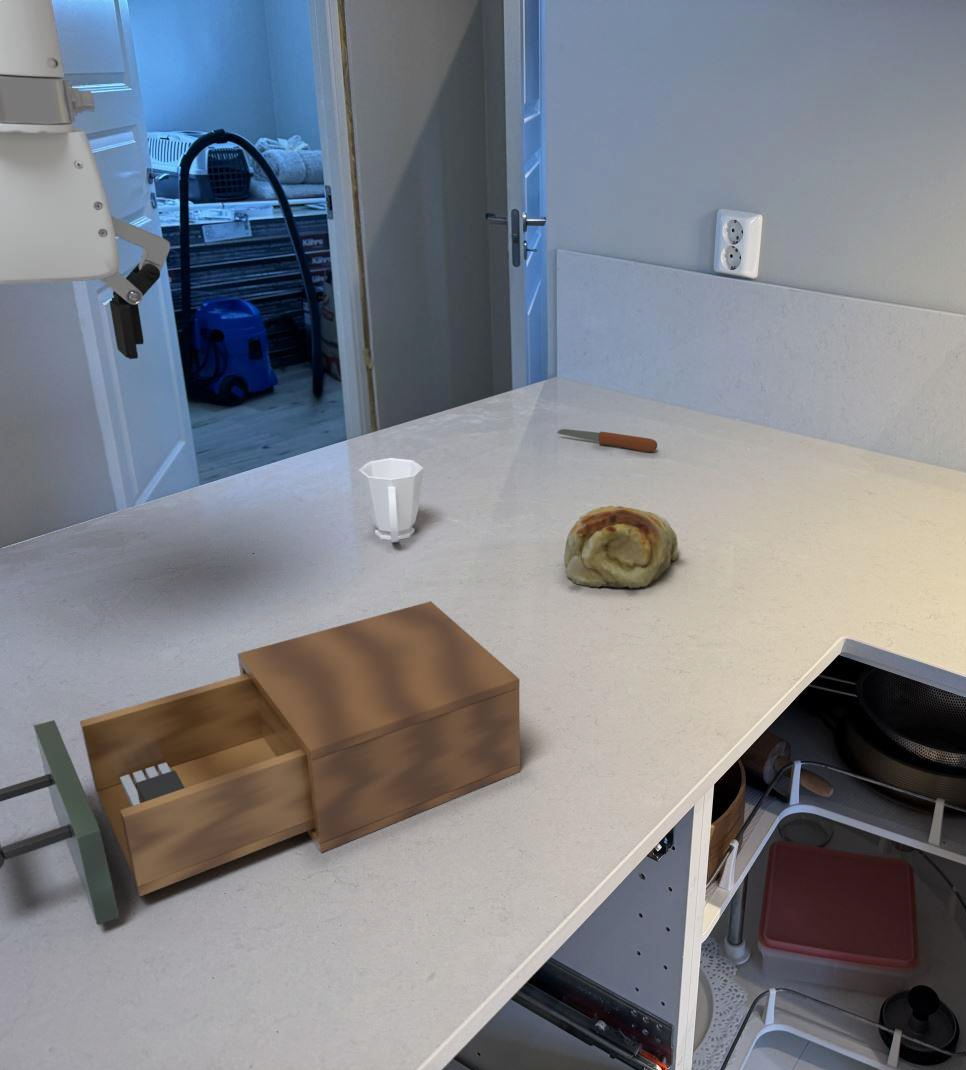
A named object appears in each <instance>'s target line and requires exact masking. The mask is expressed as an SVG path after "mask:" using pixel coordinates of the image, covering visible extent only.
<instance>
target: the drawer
mask: <svg viewBox="0 0 966 1070" xmlns="http://www.w3.org/2000/svg"><path fill="white" fill-rule="evenodd" d="M79 725H80V730H81V734H82V739H83V744H84V747H85V752H86V757H87V761H88V765H89V770H90V775H91V779H92V784H93V789H94V793H95V796H96V798H97V801H98V804H99V806H100V808H101V811H102V813H103V815H104V817H105V819H106V822H107V824H108V826H109V829H110V832H111V833H112V836H113V839H114V841H115V843H116V845H117V848H118V850H119V852H120V855H121V857H122V859H123V861H124V864H125V867H126V868H127V871H128V873H129V875H130V877H131V881H132V883H133V885H134V887H135V889H136V891H137V894H138V896H139V897H143V896H146V895H148V894H150V893H153V892H155V891H158V890H160V889H163V888H165V887H168V886H171V885H173V884H176V883H178V882H181V881H183V880H186V879H189V878H191V877H193V876H196V875H199V874H201V873H203V872H206V871H209V870H212V869H214V868H216V867H219V866H222V865H224V864H227V863H229V862H232V861H234V860H237V859H239V858H242V857H244V856H247V855H249V854H250V855H251V854H252V853H254V852H258V851H260V850H262V849H265V848H268V847H270V846H272V845H276V844H278V843H281V842H283V841H285V840H288V839H290V838H292V837H295V836H297V835H300V834H303V833H305V832H307V831H308V830H311V829H313V828H315V824H314V815H313V806H312V796H311V787H310V778H309V769H308V760H307V754H306V753H305V751H304V750H303V749H302V747H301V746H300V745H299V743H298V742H297V740H296V739H295V738H294V736H293V735H292V734H291V732H290V731H289V730H288V728H287V727H286V726H285V724H284V723H283V721H282V720H281V719H280V717H279V716H278V715H277V713H276V712H275V711H274V709H273V708H272V707H271V705H270V704H269V703H268V701H267V700H266V698H265V697H264V696H263V694H262V693H261V692H260V690H259V689H258V688H257V686H256V685H255V684H254V682H253V681H252V679H251V678H250V677H249V675H248V674H243V675H240V674H239V675H237V676H233V677H230V678H226V679H222V680H218V681H215V682H211V683H209V684H208V683H207V684H205V685H201V686H198V687H195V688H191V689H187V690H184V691H180V692H176V693H173V694H170V695H166V696H162V697H159V698H156V699H152V700H148V701H145V702H142V703H138V704H135V705H132V706H131V705H130V706H127V707H125V708H121V709H117V710H114V711H110V712H106V713H103V714H99V715H96V716H93V717H92V716H91V717H90V718H85V719H83V720H80V721H79ZM33 730H34V733H35V737H36V741H37V742H36V743H37V745H38V751H39V754H40V758H41V762H42V766H43V771H44V775H42V776H37V777H35V778H31V779H27V780H25V781H22V782H19V783H16V784H12V785H8V786H6V787H1V788H0V803H1V802H4V801H6V800H10V799H14V798H16V797H21V796H23V795H26V794H30V793H32V792H35V791H39V790H43V789H46V788H48V790H49V795H50V799H51V803H52V807H53V809H54V812H55V815H56V818H57V820H58V823H59V825H60V826H59V827H57V828H55V829H51V830H49V831H45V832H43V833H39V834H36V835H33V836H31V837H27V838H25V839H22V840H19V841H15V842H12V843H10V844H6V845H3V846H2V845H1V844H0V869H2V868H3V866H4V865H5V861H7V860H10V859H12V858H15V857H18V856H21V855H24V854H27V853H30V852H33V851H36V850H39V849H42V848H45V847H49V846H50V845H54V844H57V843H59V842H62V841H66V842H65V843H66V845H67V847H68V849H69V853H70V856H71V858H72V862H73V864H74V867H75V870H76V872H77V875H78V877H79V880H80V883H81V885H82V889H83V891H84V893H85V897H86V899H87V902H88V904H89V907H90V910H91V913H92V915H93V918H94V921H95V923H96V925H97V926H99V925H102V924H105V923H108V922H110V921H112V920H115V919H117V918H120V912H119V908H118V904H117V899H116V893H115V890H114V885H113V881H112V877H111V872H110V867H109V863H108V859H107V853H106V850H105V846H104V845H105V844H104V841H103V840H104V839H103V836H102V831H101V827H100V826H99V823H98V821H97V818H96V815H95V814H94V810H92V806H91V804H90V802H89V800H88V797H87V795H86V792H85V790H84V787H83V785H82V783H81V780H80V778H79V775H78V773H77V771H76V768H75V766H74V763H73V760H72V758H71V755H70V754H69V751H68V749H67V747H66V745H65V742H64V739H63V737H62V735H61V732H60V730H59V727H58V725H57V722H56V721H55V719H52V720H49V721H46V722H42V723H37V724H35V725H33ZM165 762H166V763H167V764H168V766H169V768H170V770H171V771H174V770H175V771H176V773H177V775H178V777H179V778H180V780H181V782H182V784H183V786H184V789H181V790H178V791H175V792H172V793H169V794H166V795H163V796H160V797H157V798H154V799H151V800H149V801H146V802H143V803H140V804H137V805H134V806H131V805H130V803H129V800H128V798H127V796H126V794H125V792H124V790H123V788H122V786H121V781H120V777H122V776H125V775H128V774H129V775H130V777H131V779H132V781H133V783H134V785H135V787H136V784H135V782H134V778H133V773H134V772H137V771H140V770H142V772H143V773H144V775H145V777H146V779H147V776H146V771H145V769H146V768H149V767H153V766H154V767H155V769H156V770H157V772H158V774H159V770H158V765H159V764H162V763H165ZM159 775H160V774H159ZM136 789H137V787H136Z"/></svg>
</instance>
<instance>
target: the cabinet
mask: <svg viewBox="0 0 966 1070" xmlns="http://www.w3.org/2000/svg"><path fill="white" fill-rule="evenodd" d="M237 659H238V666H239V676H240V675H243V674H248V675H249V677H250V678H251V679H252V681H253V682H254V684H255V685H256V686H257V688H258V689H259V690H260V692H261V693H262V694H263V696H264V697H265V698H266V700H267V701H268V703H269V704H270V705H271V707H272V708H273V709H274V711H275V712H276V713H277V715H278V716H279V717H280V719H281V720H282V721H283V723H284V724H285V726H286V727H287V728H288V730H289V731H290V732H291V734H292V735H293V736H294V738H295V739H296V740H297V742H298V743H299V745H300V746H301V747H302V749H303V750H304V751H305V753H306V754H307V760H308V769H309V778H310V787H311V796H312V806H313V815H314V824H315V828H313V829H311V830H308V831H306V832H307V834H308V836H309V837H310V839H311V840H312V841H313V843H314V845H315V846H316V847H317V849H318V850H319V852H320V853H325V852H327V851H330V850H333V849H334V848H337V847H340V846H342V845H344V844H346V843H349V842H351V841H355V840H357V839H359V838H361V837H363V836H366V835H369V834H371V833H373V832H376V831H378V830H381V829H383V828H385V827H388V826H392V825H393V824H396V823H398V822H400V821H403V820H405V819H408V818H410V817H413V816H415V815H417V814H421V813H422V812H425V811H427V810H430V809H432V808H434V807H437V806H440V805H442V804H445V803H447V802H449V801H452V800H454V799H456V798H459V797H461V796H463V795H466V794H469V793H472V792H474V791H476V790H478V789H481V788H484V787H486V786H488V785H490V784H493V783H495V782H498V781H501V780H503V779H505V778H508V777H511V776H513V775H515V774H518V773H520V770H521V769H520V768H521V765H520V763H521V761H520V759H521V755H520V754H521V753H520V752H521V751H520V750H521V749H520V748H521V747H520V745H521V743H520V742H521V741H520V736H521V735H520V734H521V733H520V732H521V731H520V730H521V729H520V728H521V727H520V726H521V725H520V724H521V723H520V715H521V714H520V713H521V712H520V684H521V683H520V681H521V680H520V677H518V676H517V675H516V674H515V673H513V672H512V671H511V670H510V669H509V668H508V667H506V665H504V664H503V663H502V662H501V661H500V660H499V659H497V657H496V656H494V655H493V654H492V653H491V652H489V651H488V649H486V648H485V647H484V646H483V645H482V644H480V642H478V641H477V640H476V639H475V638H473V636H471V635H470V634H469V633H468V632H467V631H466V630H465V629H463V628H462V627H461V626H460V625H459V624H458V623H457V622H455V621H454V620H453V619H452V618H451V617H449V616H448V615H447V614H446V613H445V612H444V611H443V610H441V609H440V607H438V606H437V605H436V604H435V603H433V601H432V600H429V601H426V602H422V603H420V604H419V603H418V604H414V605H412V606H408V607H404V608H401V609H397V610H393V611H390V612H386V613H383V614H382V613H381V614H379V615H375V616H371V617H367V618H364V619H360V620H357V621H353V622H349V623H346V624H341V625H338V626H335V627H330V628H327V629H324V630H319V631H316V632H312V633H308V634H305V635H301V636H297V637H294V638H290V639H286V640H283V641H279V642H275V643H272V644H268V645H265V646H260V647H258V648H254V649H250V650H246V651H242V652H238V653H237Z"/></svg>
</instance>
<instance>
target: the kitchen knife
mask: <svg viewBox="0 0 966 1070" xmlns="http://www.w3.org/2000/svg"><path fill="white" fill-rule="evenodd" d="M556 434H558V435H563V436H566V437H567V436H568V437H572V438H577V439H582V440H588V441H594V442H598V444H599V445H600V446H614V447H620V448H625V449H628V450H632V451H633V450H634V451H638V452H643V453H652V452H654V451H656V450H657V449H658V442H657V441H656V440H655V439H653V438H649V437H642V436H635V435H628V434H622V433H615V432H607V431H600V432H597V431H589V430H588V431H586V430H579V429H578V430H577V429H569V428H568V429H567V428H561V429H559V430H558V431H557V432H556Z"/></svg>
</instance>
